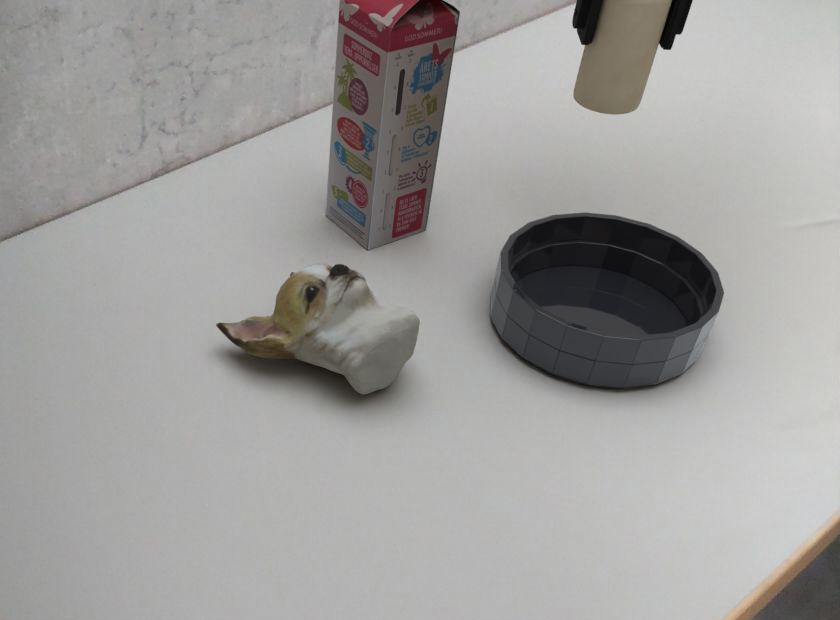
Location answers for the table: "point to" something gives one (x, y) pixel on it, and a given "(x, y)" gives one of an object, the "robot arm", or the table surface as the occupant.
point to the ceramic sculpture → (332, 327)
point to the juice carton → (388, 115)
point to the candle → (620, 55)
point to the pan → (604, 299)
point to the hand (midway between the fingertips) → (623, 38)
